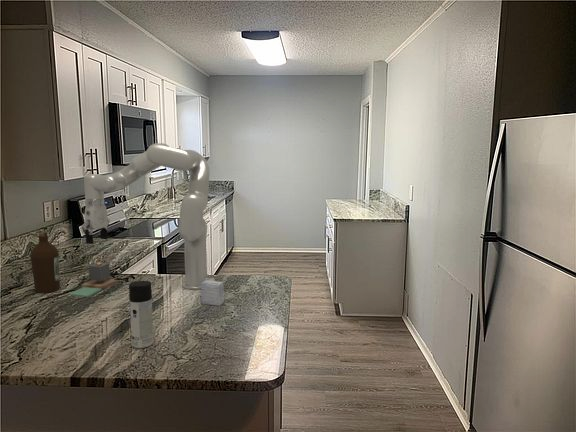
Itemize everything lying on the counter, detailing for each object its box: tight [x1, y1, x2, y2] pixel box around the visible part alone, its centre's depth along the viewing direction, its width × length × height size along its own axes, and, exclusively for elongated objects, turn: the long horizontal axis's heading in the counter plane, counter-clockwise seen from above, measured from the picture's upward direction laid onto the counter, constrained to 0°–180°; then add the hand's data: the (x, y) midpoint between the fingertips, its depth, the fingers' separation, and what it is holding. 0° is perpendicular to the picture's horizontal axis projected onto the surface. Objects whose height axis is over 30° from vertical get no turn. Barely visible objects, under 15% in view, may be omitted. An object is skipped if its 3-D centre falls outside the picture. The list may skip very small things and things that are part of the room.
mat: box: [68, 287, 103, 298], centre depth 185 cm, size 9×9×1 cm
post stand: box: [80, 278, 120, 290], centre depth 195 cm, size 12×10×8 cm
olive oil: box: [30, 231, 61, 294], centre depth 186 cm, size 11×11×25 cm
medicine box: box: [200, 280, 225, 307], centre depth 173 cm, size 8×4×9 cm, turn 71°
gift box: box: [88, 261, 111, 281], centre depth 195 cm, size 6×6×7 cm
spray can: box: [128, 280, 154, 350], centre depth 136 cm, size 7×7×20 cm
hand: (97, 241), depth 192 cm, fingers open, 9 cm apart
